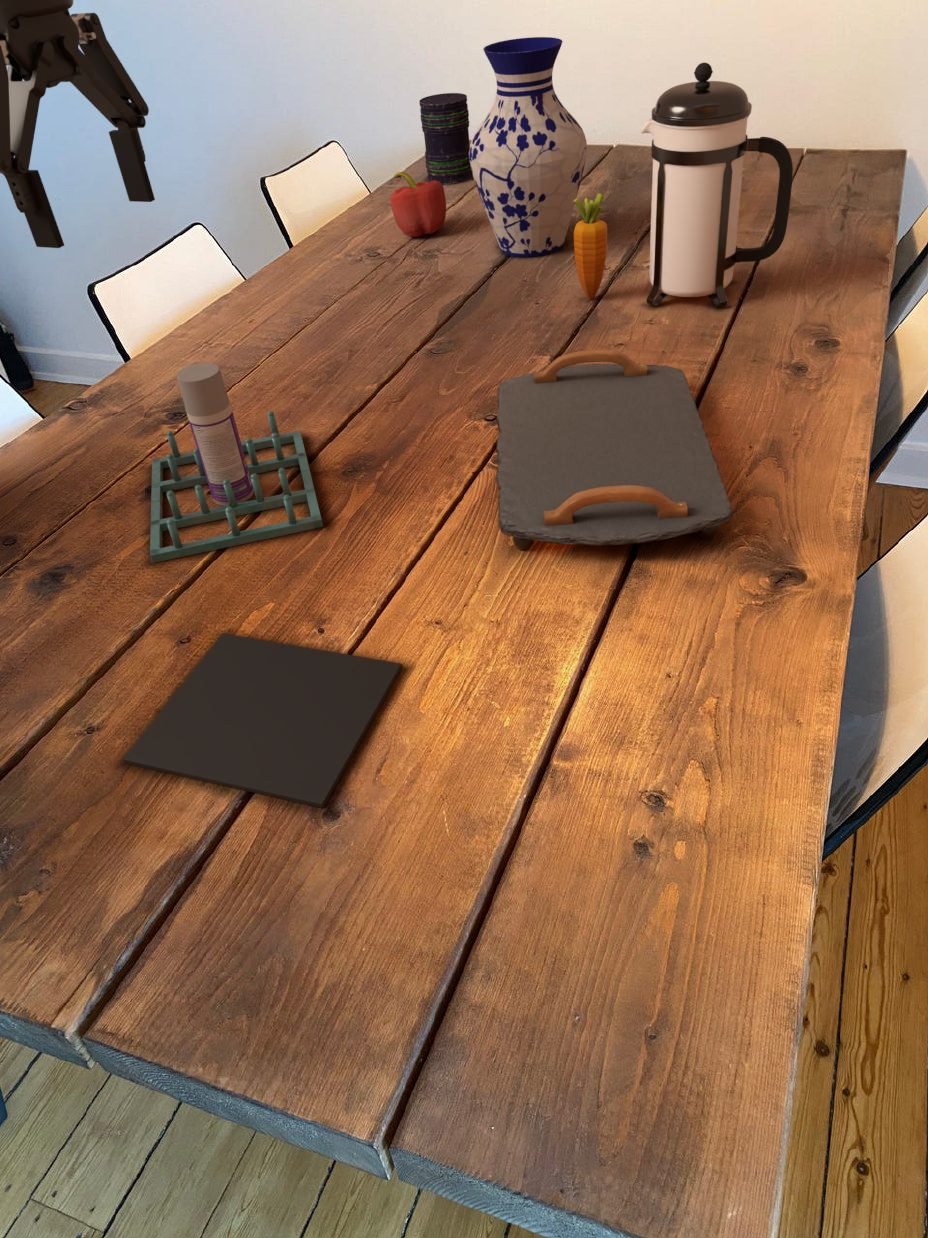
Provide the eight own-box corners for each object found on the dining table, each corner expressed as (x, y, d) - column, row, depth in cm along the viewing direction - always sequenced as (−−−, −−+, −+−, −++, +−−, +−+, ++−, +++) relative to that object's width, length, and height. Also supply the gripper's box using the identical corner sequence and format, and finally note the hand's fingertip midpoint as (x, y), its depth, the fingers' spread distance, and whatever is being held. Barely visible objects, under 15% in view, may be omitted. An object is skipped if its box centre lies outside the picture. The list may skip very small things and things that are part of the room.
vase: (531, 221, 173) (522, 29, 154) (610, 239, 161) (612, 35, 142) (454, 252, 164) (434, 53, 144) (532, 274, 152) (523, 61, 133)
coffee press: (679, 324, 132) (693, 81, 113) (619, 290, 143) (622, 64, 124) (782, 295, 136) (811, 57, 117) (715, 264, 148) (732, 43, 129)
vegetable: (380, 235, 174) (372, 178, 168) (423, 220, 179) (416, 163, 173) (419, 246, 167) (411, 186, 161) (461, 229, 172) (456, 171, 166)
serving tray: (740, 557, 90) (747, 502, 86) (497, 572, 92) (492, 518, 88) (679, 377, 120) (682, 330, 116) (496, 390, 121) (493, 345, 117)
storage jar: (463, 184, 195) (456, 103, 185) (420, 184, 198) (411, 104, 188) (480, 170, 202) (474, 92, 192) (437, 170, 205) (430, 93, 195)
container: (222, 483, 110) (186, 361, 100) (260, 484, 109) (227, 361, 99) (206, 505, 106) (167, 381, 97) (244, 506, 105) (209, 381, 96)
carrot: (568, 302, 142) (565, 197, 132) (584, 291, 145) (583, 187, 135) (597, 307, 139) (597, 200, 130) (613, 295, 142) (614, 190, 133)
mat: (124, 763, 76) (122, 759, 76) (224, 637, 88) (222, 633, 88) (323, 808, 71) (322, 804, 71) (402, 667, 82) (401, 663, 82)
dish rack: (152, 563, 98) (139, 528, 96) (154, 466, 114) (143, 434, 112) (323, 526, 101) (315, 491, 98) (301, 437, 117) (294, 404, 114)
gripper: (-72, -23, 69) (38, 270, 82) (142, -63, 86) (204, 184, 99) (-143, -17, 71) (-25, 265, 85) (78, -58, 89) (147, 183, 102)
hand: (98, 222), depth 92 cm, fingers open, 13 cm apart
